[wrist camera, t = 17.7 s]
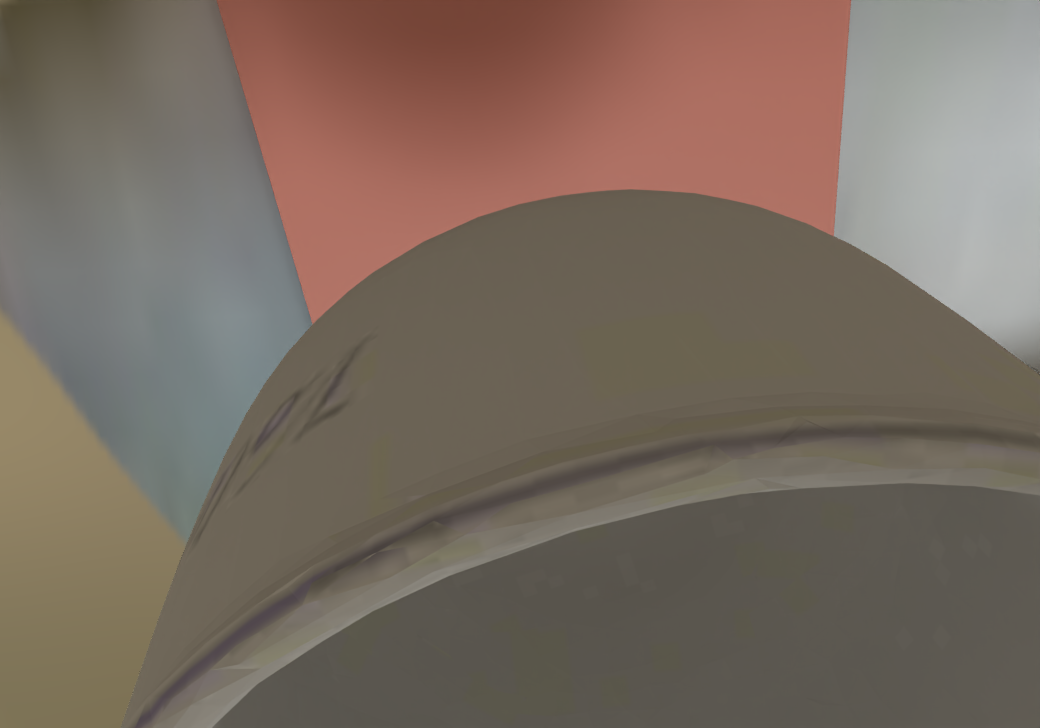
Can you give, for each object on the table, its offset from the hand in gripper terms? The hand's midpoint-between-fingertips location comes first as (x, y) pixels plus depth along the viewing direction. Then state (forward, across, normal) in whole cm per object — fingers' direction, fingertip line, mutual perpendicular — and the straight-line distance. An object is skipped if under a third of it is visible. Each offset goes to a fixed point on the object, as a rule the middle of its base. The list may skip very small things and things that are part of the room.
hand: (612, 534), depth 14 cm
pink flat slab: (+9, -6, 0) cm, 11 cm away
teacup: (+1, 0, 0) cm, 1 cm away
